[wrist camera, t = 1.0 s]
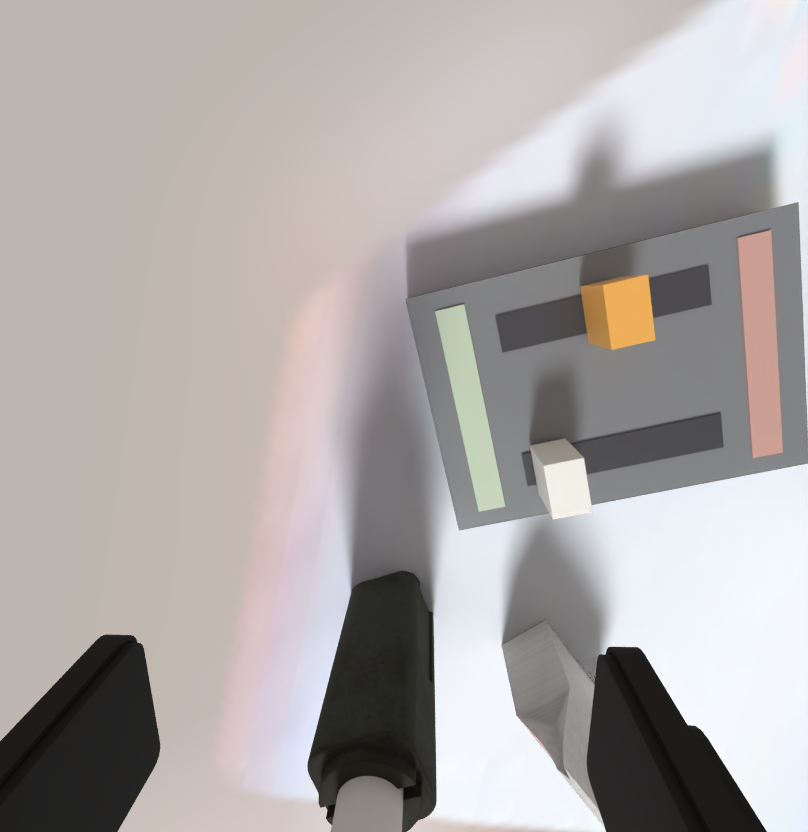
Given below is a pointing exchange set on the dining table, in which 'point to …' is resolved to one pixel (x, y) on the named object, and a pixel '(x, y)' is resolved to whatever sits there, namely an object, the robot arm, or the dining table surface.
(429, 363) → the breaker panel
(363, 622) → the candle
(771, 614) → the dining table surface
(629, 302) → the breaker handle
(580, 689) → the grey piece
